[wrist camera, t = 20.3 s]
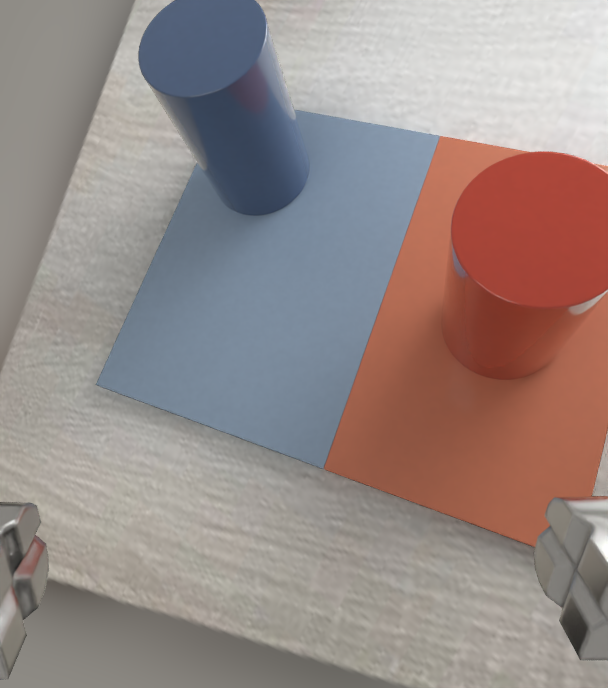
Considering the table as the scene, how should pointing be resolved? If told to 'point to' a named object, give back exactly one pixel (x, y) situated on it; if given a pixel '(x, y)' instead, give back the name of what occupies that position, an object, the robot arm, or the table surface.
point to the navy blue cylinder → (228, 100)
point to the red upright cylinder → (525, 262)
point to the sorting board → (360, 336)
